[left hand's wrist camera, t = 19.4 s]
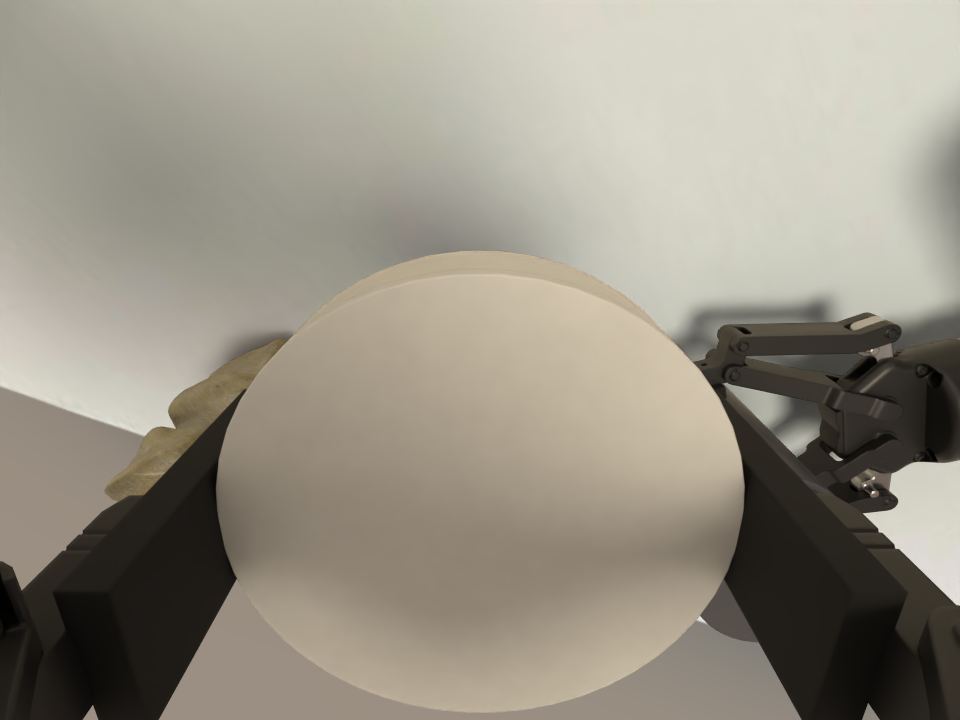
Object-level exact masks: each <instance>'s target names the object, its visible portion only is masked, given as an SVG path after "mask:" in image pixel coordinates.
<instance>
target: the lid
mask: <svg viewBox="0 0 960 720" xmlns="http://www.w3.org/2000/svg"><path fill="white" fill-rule="evenodd" d="M744 491H745V484H744V476H743V467H742V459H741V454H740V450H739V447H738V443H737V440H736V436H735V433H734V430H733V426H732V424H731V422H730V420H729V418H728V416H727V414H726V411H725V409H724V407H723V405H722V403H721V401H720V399H719V397H718V396H717V394H716V393H715V391H714V390H713V388H712V387H711V385H710V384H709V382H708V381H707V379H706V378H705V377H704V375H703V374H702V372H701V371H700V370H699V368H698V367H697V366H696V365H695V364H694V363H693V362H692V361H691V360H690V359H689V358H688V357H687V356H686V355H685V354H684V353H683V351H682V350H681V349H680V348H679V347H678V346H677V345H676V344H675V343H674V342H673V341H672V340H671V339H670V338H669V337H668V336H667V335H666V334H665V333H664V331H663V330H662V329H661V328H660V327H659V326H658V325H657V324H656V323H655V322H654V321H653V320H652V319H651V318H650V317H649V316H648V315H647V314H646V313H645V312H644V311H643V310H642V309H641V308H639V307H638V306H637V305H636V304H634V303H633V302H632V301H631V300H629V299H628V298H627V297H625V296H624V295H623V294H622V293H620V292H619V291H617V290H615V289H614V288H612V287H610V286H609V285H607V284H605V283H603V282H602V281H600V280H598V279H597V278H595V277H593V276H591V275H589V274H586V273H584V272H581V271H579V270H577V269H574V268H572V267H569V266H567V265H564V264H562V263H558V262H554V261H551V260H547V259H543V258H539V257H536V256H532V255H526V254H518V253H510V252H502V251H457V252H450V253H443V254H435V255H428V256H424V257H421V258H417V259H414V260H410V261H406V262H403V263H399V264H396V265H393V266H391V267H389V268H386V269H384V270H382V271H379V272H377V273H375V274H372V275H370V276H368V277H365V278H364V279H362V280H360V281H359V282H357V283H355V284H354V285H352V286H350V287H349V288H347V289H345V290H344V291H342V292H340V293H339V294H337V295H336V296H335V297H334V298H332V299H331V300H330V301H329V302H327V303H326V304H325V305H324V306H323V307H321V308H320V309H319V310H318V311H316V312H315V313H314V314H313V315H312V316H311V317H310V318H309V319H308V320H307V321H306V322H305V323H304V324H303V325H302V327H301V328H300V329H299V330H298V331H297V332H296V333H295V334H294V335H293V336H292V337H291V338H290V339H289V340H288V341H287V342H286V343H285V344H284V345H283V346H282V347H281V348H280V350H279V351H278V352H277V353H276V354H275V355H274V356H273V357H272V358H271V359H270V361H269V362H268V363H267V364H266V365H265V366H264V367H263V368H262V369H261V370H260V371H259V373H258V374H257V376H256V377H255V379H254V380H253V382H252V383H251V385H250V386H249V388H248V389H247V391H246V392H245V394H244V395H243V397H242V398H241V400H240V402H239V404H238V406H237V408H236V410H235V413H234V415H233V417H232V419H231V421H230V424H229V426H228V428H227V431H226V434H225V438H224V442H223V445H222V449H221V453H220V457H219V463H218V472H217V482H216V501H217V512H218V518H219V523H220V528H221V532H222V537H223V542H224V547H225V551H226V554H227V556H228V559H229V562H230V564H231V567H232V570H233V572H234V574H235V576H236V578H237V579H238V581H239V583H240V585H241V587H242V588H243V590H244V592H245V594H246V596H247V597H248V599H249V600H250V601H251V603H252V604H253V605H254V607H255V608H256V609H257V611H258V612H259V613H260V615H261V616H262V618H263V619H264V620H265V621H266V622H267V623H268V624H269V625H270V626H271V627H272V628H273V629H274V630H275V632H276V633H277V634H278V635H279V636H280V637H281V638H282V639H283V640H284V641H286V642H287V643H288V644H289V645H290V646H292V647H293V648H294V649H295V650H296V651H298V652H299V653H300V654H301V655H303V656H304V657H305V658H306V659H308V660H309V661H311V662H313V663H314V664H316V665H317V666H319V667H320V668H322V669H323V670H325V671H326V672H328V673H329V674H331V675H333V676H335V677H337V678H339V679H341V680H343V681H345V682H347V683H349V684H351V685H353V686H355V687H357V688H360V689H363V690H365V691H368V692H370V693H373V694H375V695H378V696H381V697H384V698H388V699H391V700H394V701H398V702H402V703H405V704H409V705H414V706H419V707H425V708H430V709H436V710H444V711H456V712H506V711H516V710H526V709H531V708H536V707H541V706H547V705H552V704H556V703H559V702H563V701H566V700H570V699H573V698H577V697H580V696H583V695H586V694H588V693H591V692H593V691H596V690H598V689H601V688H603V687H606V686H608V685H610V684H612V683H614V682H616V681H618V680H620V679H622V678H623V677H625V676H627V675H629V674H631V673H633V672H635V671H636V670H638V669H639V668H641V667H642V666H644V665H645V664H647V663H648V662H650V661H651V660H653V659H654V658H656V657H657V656H658V655H660V654H661V653H662V652H663V651H664V650H666V649H667V648H668V647H669V646H670V645H672V644H673V643H674V642H675V641H676V640H678V639H679V638H680V637H681V636H682V635H683V633H684V632H685V631H686V630H687V629H688V628H689V627H690V626H691V625H692V624H693V623H694V622H695V621H696V620H697V619H698V617H699V616H700V615H701V613H702V612H703V611H704V609H705V608H706V606H707V605H708V604H709V602H710V601H711V599H712V598H713V597H714V595H715V594H716V592H717V590H718V588H719V586H720V584H721V582H722V581H723V579H724V577H725V575H726V573H727V571H728V569H729V566H730V564H731V561H732V558H733V555H734V553H735V549H736V545H737V540H738V535H739V530H740V526H741V521H742V516H743V510H744Z"/></svg>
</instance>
